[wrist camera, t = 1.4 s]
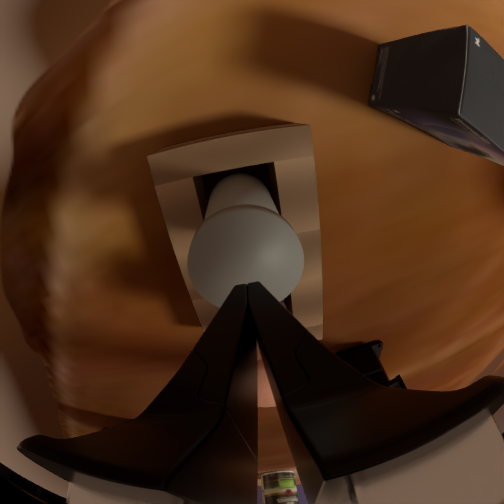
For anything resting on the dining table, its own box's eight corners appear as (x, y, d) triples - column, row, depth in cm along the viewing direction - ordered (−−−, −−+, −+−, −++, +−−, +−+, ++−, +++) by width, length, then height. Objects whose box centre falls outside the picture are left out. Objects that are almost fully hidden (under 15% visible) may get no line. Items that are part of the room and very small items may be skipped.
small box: (364, 109, 18) (457, 118, 9) (376, 42, 15) (464, 17, 6) (450, 150, 19) (532, 183, 10) (461, 93, 16) (543, 106, 7)
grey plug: (279, 228, 19) (307, 301, 12) (213, 240, 19) (204, 319, 12) (269, 163, 16) (298, 201, 9) (197, 176, 17) (172, 225, 10)
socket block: (312, 311, 27) (322, 339, 23) (215, 328, 27) (214, 357, 23) (295, 123, 18) (309, 124, 15) (162, 148, 18) (146, 156, 15)
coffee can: (270, 469, 56) (275, 511, 44) (300, 469, 59) (307, 508, 46) (254, 477, 60) (257, 515, 48) (282, 477, 63) (288, 512, 51)
